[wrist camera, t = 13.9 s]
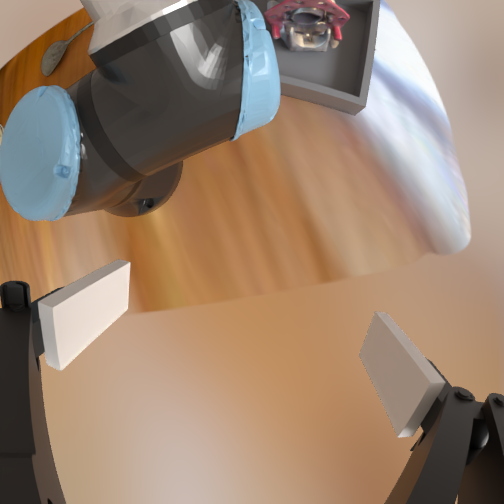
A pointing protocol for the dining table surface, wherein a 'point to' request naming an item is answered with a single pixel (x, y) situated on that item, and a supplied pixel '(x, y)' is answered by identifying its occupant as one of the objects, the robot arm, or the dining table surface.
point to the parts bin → (332, 61)
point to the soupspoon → (57, 53)
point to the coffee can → (1, 132)
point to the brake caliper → (306, 23)
